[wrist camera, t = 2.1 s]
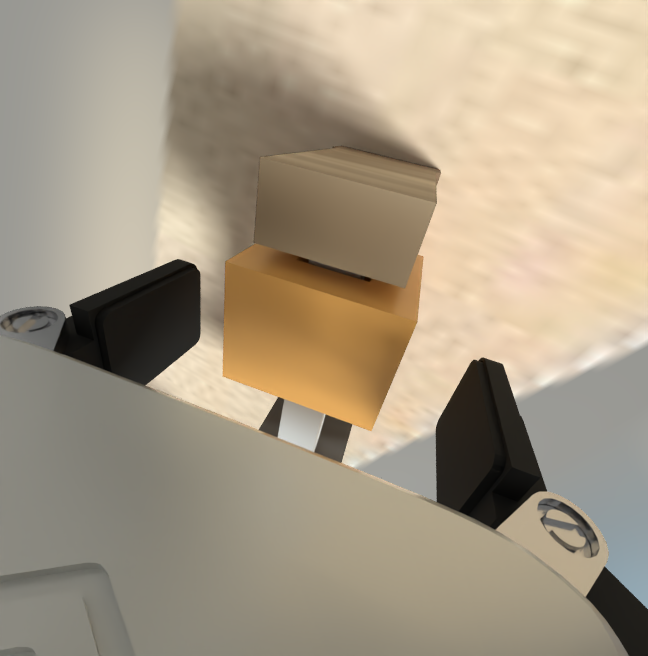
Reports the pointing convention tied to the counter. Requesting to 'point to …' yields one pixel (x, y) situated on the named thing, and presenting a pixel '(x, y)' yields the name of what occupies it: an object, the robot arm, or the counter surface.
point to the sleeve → (316, 332)
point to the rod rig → (340, 242)
